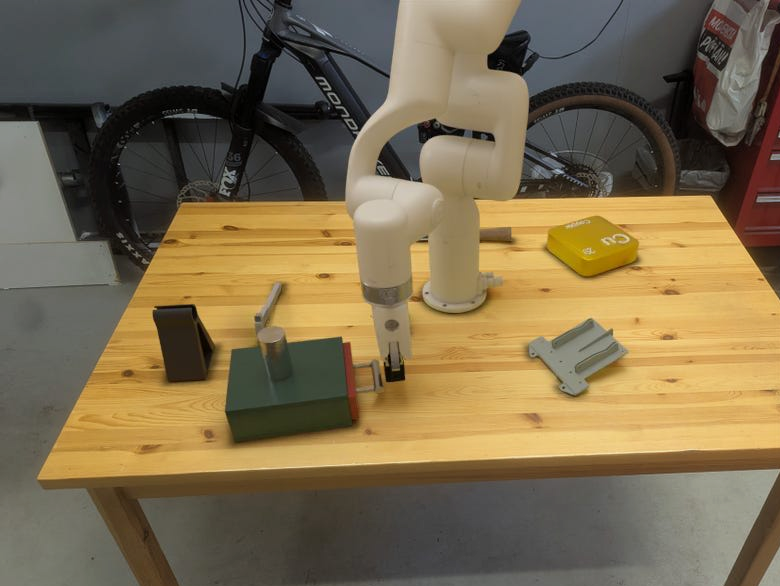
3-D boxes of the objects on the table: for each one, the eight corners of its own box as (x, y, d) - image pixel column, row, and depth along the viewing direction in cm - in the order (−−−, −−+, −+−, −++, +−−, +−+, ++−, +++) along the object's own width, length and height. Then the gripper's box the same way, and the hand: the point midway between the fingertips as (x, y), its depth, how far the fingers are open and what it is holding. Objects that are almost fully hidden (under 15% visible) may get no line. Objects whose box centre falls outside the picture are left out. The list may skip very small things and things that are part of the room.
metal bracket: (587, 301, 120) (639, 348, 109) (591, 324, 124) (641, 371, 114) (520, 340, 117) (567, 392, 107) (526, 361, 121) (572, 413, 111)
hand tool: (399, 224, 149) (510, 220, 148) (401, 236, 151) (511, 232, 150) (397, 235, 145) (511, 231, 144) (399, 248, 147) (511, 244, 146)
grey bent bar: (266, 349, 117) (259, 320, 113) (259, 349, 117) (252, 320, 113) (282, 285, 133) (277, 258, 129) (277, 285, 133) (271, 258, 129)
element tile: (596, 230, 152) (599, 211, 149) (640, 260, 142) (644, 240, 139) (542, 247, 146) (544, 227, 143) (584, 279, 136) (587, 259, 133)
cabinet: (346, 366, 114) (341, 336, 110) (352, 426, 103) (347, 395, 99) (240, 379, 111) (231, 349, 107) (234, 442, 100) (224, 411, 96)
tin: (293, 362, 104) (285, 324, 100) (293, 379, 101) (284, 340, 97) (267, 365, 104) (257, 327, 99) (266, 382, 101) (256, 343, 96)
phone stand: (205, 380, 111) (185, 322, 103) (168, 382, 110) (145, 324, 102) (215, 346, 118) (198, 290, 110) (180, 348, 117) (160, 292, 109)
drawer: (378, 360, 114) (376, 338, 111) (386, 414, 104) (384, 392, 101) (253, 376, 110) (247, 353, 107) (249, 433, 100) (242, 410, 97)
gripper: (419, 311, 92) (424, 407, 104) (406, 256, 103) (412, 347, 115) (364, 317, 90) (376, 413, 102) (357, 260, 102) (368, 352, 113)
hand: (395, 378), depth 108 cm, fingers closed
